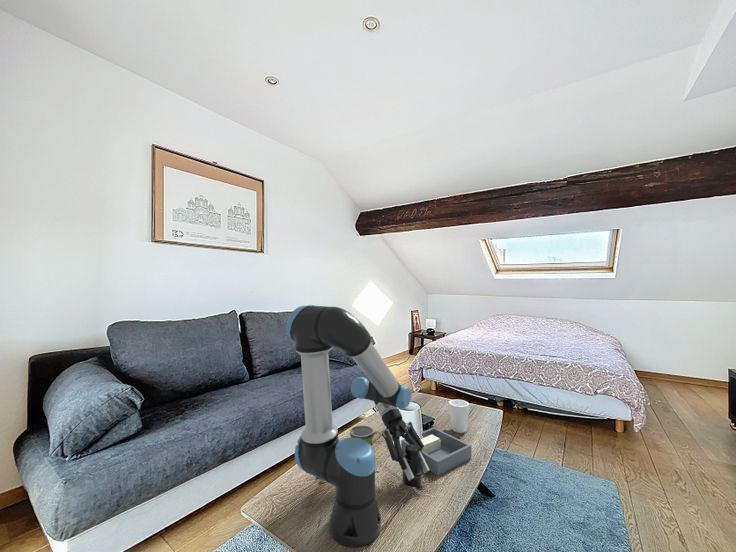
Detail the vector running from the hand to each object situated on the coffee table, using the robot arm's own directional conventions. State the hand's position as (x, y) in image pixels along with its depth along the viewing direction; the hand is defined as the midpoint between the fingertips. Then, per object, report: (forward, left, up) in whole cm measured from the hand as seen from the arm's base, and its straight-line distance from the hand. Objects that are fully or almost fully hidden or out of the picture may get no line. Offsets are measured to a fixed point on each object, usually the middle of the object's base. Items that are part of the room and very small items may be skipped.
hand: (419, 475), depth 109 cm
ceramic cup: (-2, +29, -5) cm, 30 cm away
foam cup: (+48, +20, -5) cm, 52 cm away
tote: (+20, +10, -5) cm, 23 cm away
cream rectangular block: (+20, +15, -4) cm, 26 cm away
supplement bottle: (0, +4, -4) cm, 6 cm away
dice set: (-23, +26, -6) cm, 35 cm away
